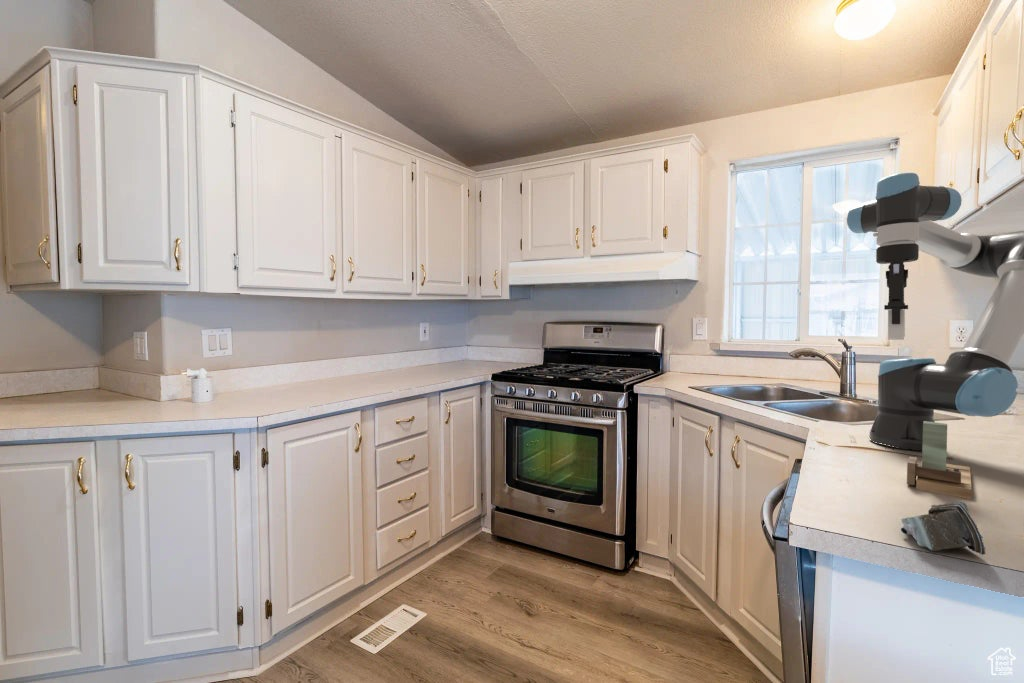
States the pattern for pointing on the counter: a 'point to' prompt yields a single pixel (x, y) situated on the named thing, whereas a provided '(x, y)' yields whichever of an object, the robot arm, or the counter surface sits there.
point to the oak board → (948, 483)
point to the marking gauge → (933, 456)
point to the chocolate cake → (945, 528)
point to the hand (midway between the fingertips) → (896, 338)
